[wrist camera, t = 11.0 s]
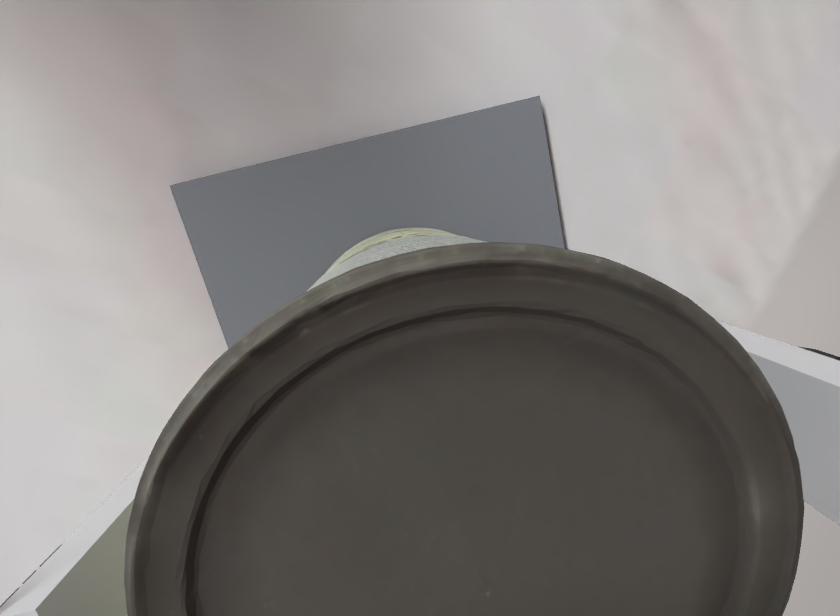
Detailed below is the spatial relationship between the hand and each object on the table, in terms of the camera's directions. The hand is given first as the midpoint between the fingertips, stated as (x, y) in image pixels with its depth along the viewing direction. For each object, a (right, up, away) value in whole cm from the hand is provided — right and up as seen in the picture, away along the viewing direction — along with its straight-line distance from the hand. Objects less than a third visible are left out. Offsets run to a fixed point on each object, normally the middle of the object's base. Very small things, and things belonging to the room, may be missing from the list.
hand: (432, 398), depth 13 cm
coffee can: (-1, +1, +7) cm, 7 cm away
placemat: (-1, +1, +8) cm, 8 cm away
